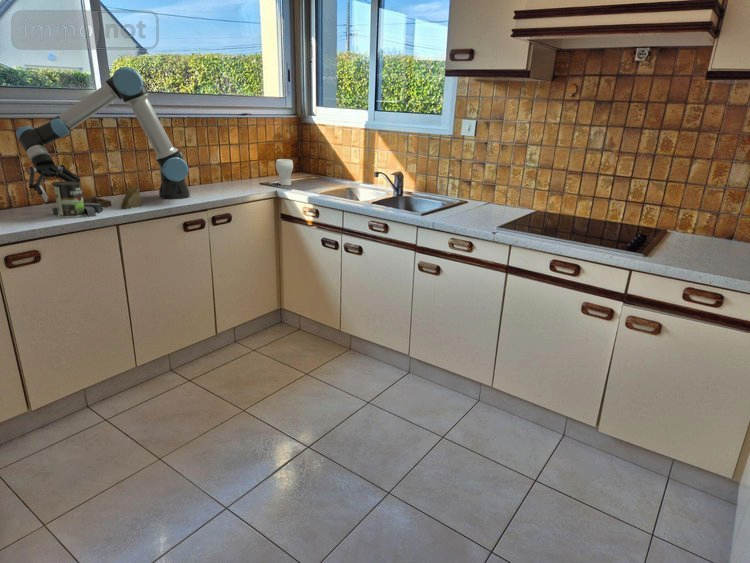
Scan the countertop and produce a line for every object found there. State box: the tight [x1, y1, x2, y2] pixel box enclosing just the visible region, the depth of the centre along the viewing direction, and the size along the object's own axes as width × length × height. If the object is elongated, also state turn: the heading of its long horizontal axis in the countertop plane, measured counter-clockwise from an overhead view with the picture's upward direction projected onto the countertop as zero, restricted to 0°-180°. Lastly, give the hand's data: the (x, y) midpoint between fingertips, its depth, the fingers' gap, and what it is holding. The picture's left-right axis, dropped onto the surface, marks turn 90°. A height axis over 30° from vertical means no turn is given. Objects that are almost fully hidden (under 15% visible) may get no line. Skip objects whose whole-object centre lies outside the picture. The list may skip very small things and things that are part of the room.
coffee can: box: [52, 180, 86, 219], centre depth 213 cm, size 10×10×14 cm
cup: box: [275, 158, 294, 186], centre depth 309 cm, size 11×11×15 cm
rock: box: [120, 185, 142, 210], centre depth 234 cm, size 11×9×10 cm
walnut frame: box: [83, 196, 112, 208], centre depth 234 cm, size 14×14×2 cm
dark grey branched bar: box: [51, 203, 104, 218], centre depth 220 cm, size 11×20×4 cm, turn 85°
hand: (64, 197), depth 213 cm, fingers open, 13 cm apart
